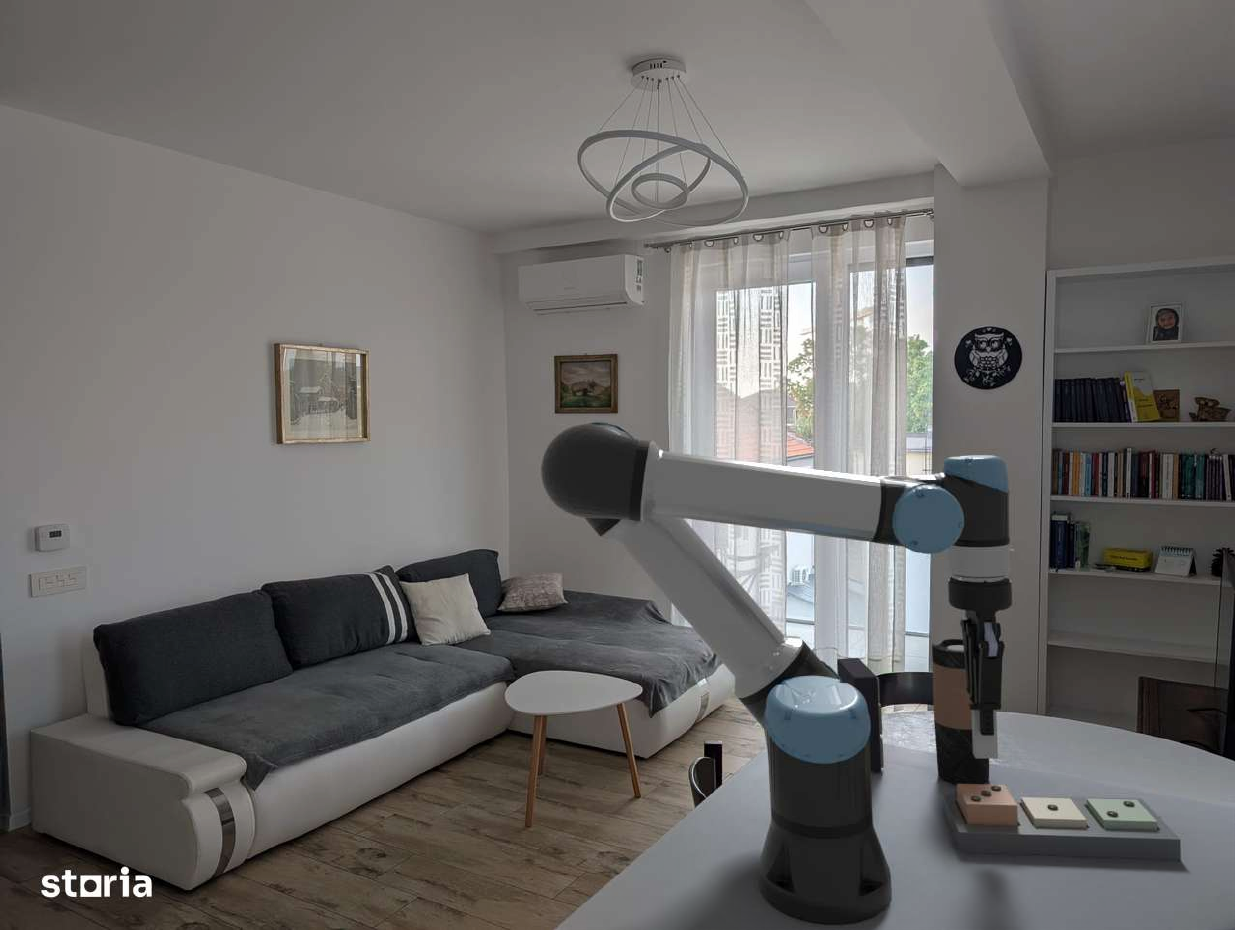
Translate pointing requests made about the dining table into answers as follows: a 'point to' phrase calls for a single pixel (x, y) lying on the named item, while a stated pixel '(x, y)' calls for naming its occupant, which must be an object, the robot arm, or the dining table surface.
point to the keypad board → (1062, 835)
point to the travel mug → (954, 717)
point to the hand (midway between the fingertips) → (985, 755)
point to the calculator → (868, 686)
